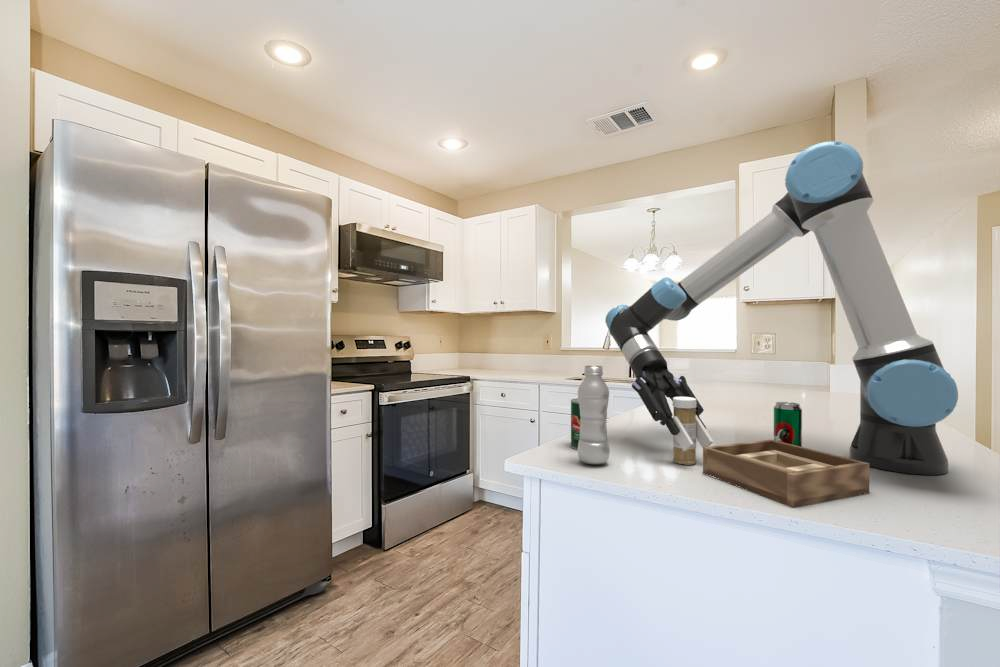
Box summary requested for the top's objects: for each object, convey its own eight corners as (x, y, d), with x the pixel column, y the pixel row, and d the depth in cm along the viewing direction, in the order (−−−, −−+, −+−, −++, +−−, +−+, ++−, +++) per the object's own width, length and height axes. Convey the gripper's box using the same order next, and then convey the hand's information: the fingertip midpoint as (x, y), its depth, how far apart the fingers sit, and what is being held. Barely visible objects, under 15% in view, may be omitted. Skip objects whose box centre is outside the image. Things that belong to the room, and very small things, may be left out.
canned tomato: (602, 443, 110) (602, 398, 110) (607, 452, 102) (607, 403, 102) (569, 442, 111) (569, 397, 111) (571, 451, 103) (571, 402, 103)
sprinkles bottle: (687, 458, 96) (687, 395, 96) (701, 464, 92) (701, 398, 92) (668, 460, 95) (668, 396, 95) (681, 466, 91) (681, 399, 91)
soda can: (806, 464, 93) (806, 405, 93) (779, 462, 94) (779, 404, 94) (795, 457, 98) (795, 401, 98) (769, 456, 99) (769, 401, 99)
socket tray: (771, 463, 93) (771, 439, 93) (869, 493, 76) (869, 463, 76) (702, 473, 86) (703, 447, 86) (793, 507, 70) (793, 475, 70)
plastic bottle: (615, 463, 93) (616, 366, 93) (598, 470, 88) (598, 367, 88) (588, 457, 98) (588, 364, 98) (570, 463, 93) (571, 366, 93)
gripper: (666, 368, 111) (721, 452, 96) (606, 370, 105) (654, 460, 89) (682, 347, 106) (742, 432, 91) (620, 348, 100) (673, 439, 85)
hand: (698, 446), depth 90 cm, fingers closed on sprinkles bottle, 4 cm apart
